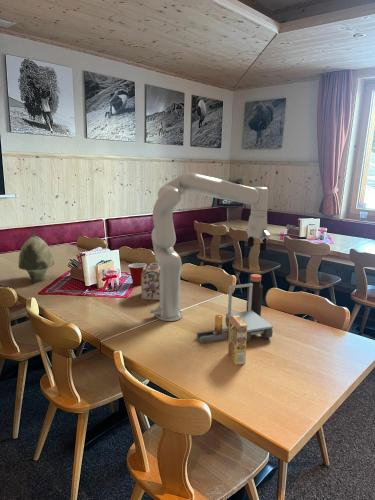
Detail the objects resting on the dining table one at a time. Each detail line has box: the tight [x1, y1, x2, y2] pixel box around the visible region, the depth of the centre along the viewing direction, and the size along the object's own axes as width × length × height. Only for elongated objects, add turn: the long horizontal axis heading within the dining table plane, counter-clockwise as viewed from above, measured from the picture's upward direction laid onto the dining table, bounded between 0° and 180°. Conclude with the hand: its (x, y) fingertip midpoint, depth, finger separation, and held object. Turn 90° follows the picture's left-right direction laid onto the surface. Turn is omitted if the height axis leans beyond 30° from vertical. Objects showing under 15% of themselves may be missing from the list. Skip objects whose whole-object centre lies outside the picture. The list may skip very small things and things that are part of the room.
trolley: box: [225, 282, 274, 343], centre depth 155 cm, size 13×18×19 cm
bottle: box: [245, 273, 264, 317], centre depth 173 cm, size 7×7×20 cm
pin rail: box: [196, 329, 227, 344], centre depth 151 cm, size 11×5×2 cm, turn 110°
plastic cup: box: [127, 262, 148, 287], centre depth 215 cm, size 11×11×12 cm
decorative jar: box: [140, 262, 160, 301], centre depth 195 cm, size 12×12×18 cm
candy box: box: [227, 315, 247, 366], centre depth 135 cm, size 9×4×15 cm, turn 13°
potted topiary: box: [18, 231, 55, 283], centre depth 217 cm, size 19×20×30 cm
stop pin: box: [213, 314, 229, 335], centre depth 153 cm, size 10×3×8 cm, turn 110°
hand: (256, 248), depth 178 cm, fingers open, 9 cm apart
